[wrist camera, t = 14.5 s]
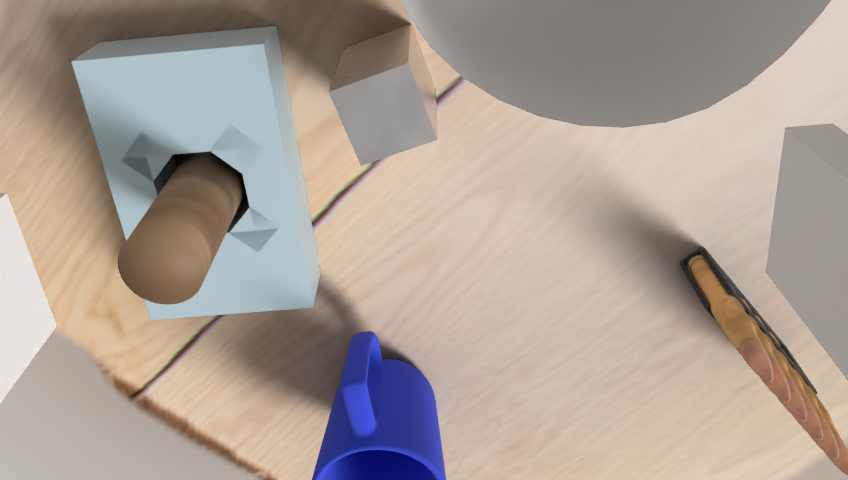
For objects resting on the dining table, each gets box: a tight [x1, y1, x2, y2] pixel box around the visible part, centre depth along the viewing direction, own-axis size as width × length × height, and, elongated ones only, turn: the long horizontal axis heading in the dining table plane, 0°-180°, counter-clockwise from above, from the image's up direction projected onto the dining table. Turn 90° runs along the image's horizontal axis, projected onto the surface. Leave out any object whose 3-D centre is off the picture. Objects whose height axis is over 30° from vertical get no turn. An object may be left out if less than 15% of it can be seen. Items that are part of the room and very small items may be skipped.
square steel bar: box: [329, 24, 437, 166], centre depth 41 cm, size 4×4×8 cm
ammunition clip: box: [680, 248, 848, 475], centre depth 47 cm, size 11×2×12 cm, turn 42°
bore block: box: [71, 26, 321, 320], centre depth 45 cm, size 16×10×4 cm, turn 5°
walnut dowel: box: [118, 151, 246, 305], centre depth 42 cm, size 4×4×12 cm
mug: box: [312, 332, 446, 480], centre depth 50 cm, size 8×12×10 cm
